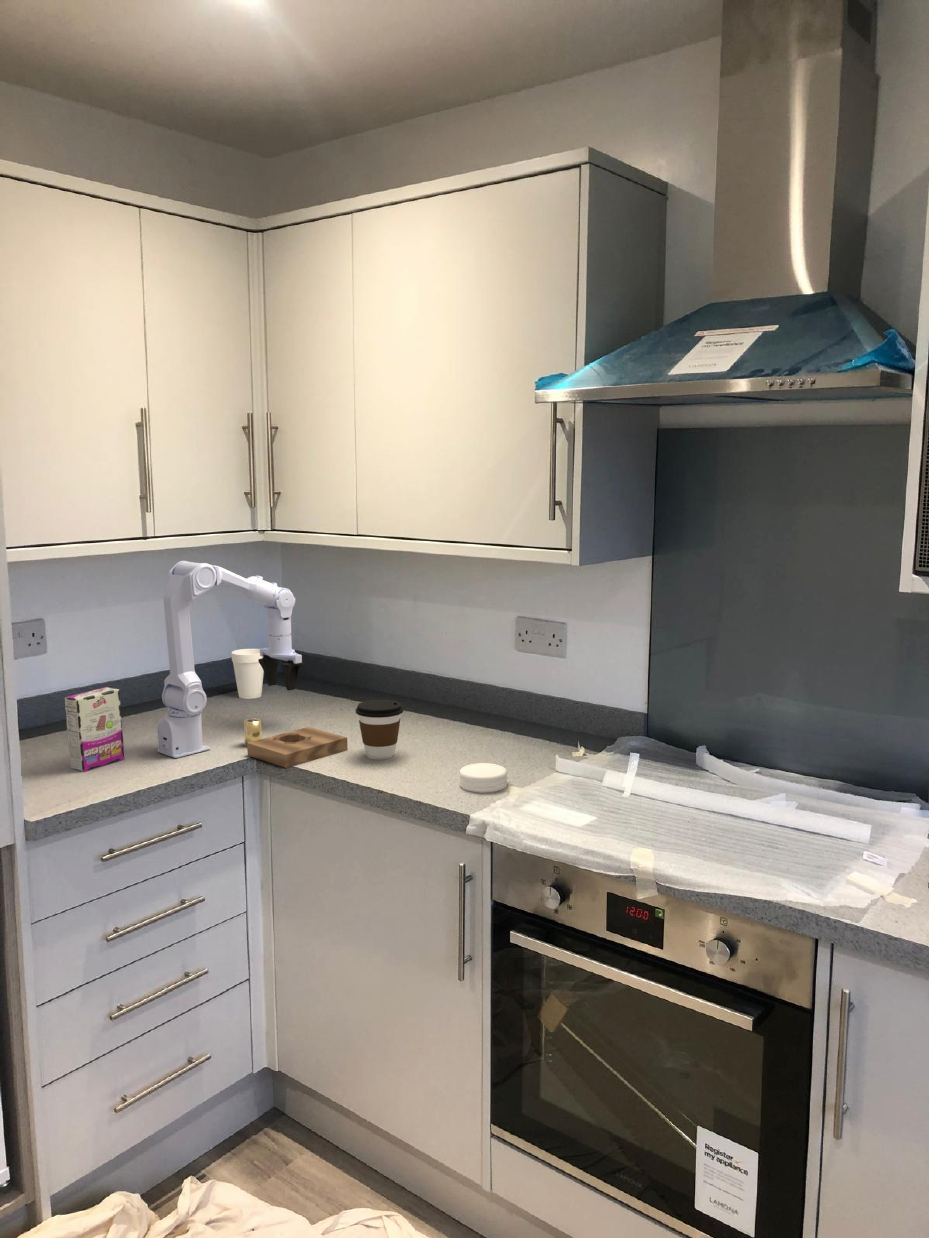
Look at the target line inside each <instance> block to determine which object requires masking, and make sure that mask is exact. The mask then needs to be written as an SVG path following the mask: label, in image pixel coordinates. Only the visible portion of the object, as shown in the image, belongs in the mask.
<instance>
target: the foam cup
mask: <svg viewBox="0 0 929 1238" xmlns="http://www.w3.org/2000/svg"><path fill="white" fill-rule="evenodd" d="M260 649H261V648H242V649H235V650H232V651H231V661H232V663H233V664H232V665H233V671H234V677H235V682H236V687H237V694H238V698H239V699H246V700H248V699H249V700H251V699H257V698H261V697H262V694H263V693H262V692H263V683H264V682H263V681H264V674H265V673H264V671H263V668H262V667H261V665H260V663H259V662H258V659H262V656H260Z"/></svg>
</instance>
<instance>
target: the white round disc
mask: <svg viewBox="0 0 929 1238" xmlns="http://www.w3.org/2000/svg"><path fill="white" fill-rule="evenodd" d="M458 779H459V786H460V788H462V789H463V790H465V791H467V792H472V793H481V794H486V793H495V792H499V791H502V790H504V789H505V788H506V787H507V786H508V770H507V768H505V767H504V766H502V765H499V764H495V763H487V762H486V763H485V762H483V763H482V762H481V763H480V762H479V763H477V762H476V763H471V764H467V765H465V766H463V767H461V768H460V770H459V778H458Z"/></svg>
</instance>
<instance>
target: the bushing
mask: <svg viewBox="0 0 929 1238" xmlns="http://www.w3.org/2000/svg"><path fill="white" fill-rule="evenodd" d="M243 730H244V731H243V733H244V734H243V736H244V747H245V748H247V743H248V742H252V741H256V740H260V739H263V737H262V735H263V734H262V719H260V718H259V717H257V718H256V717H255V718H253V717H252V718H246V719H244V720H243Z"/></svg>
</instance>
